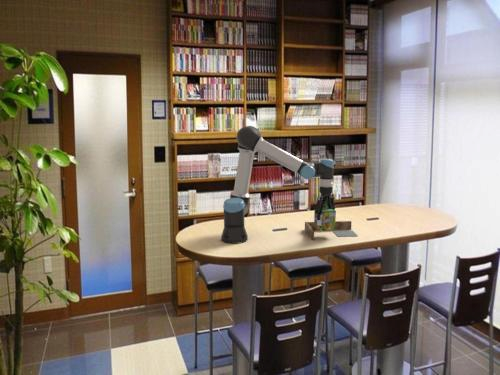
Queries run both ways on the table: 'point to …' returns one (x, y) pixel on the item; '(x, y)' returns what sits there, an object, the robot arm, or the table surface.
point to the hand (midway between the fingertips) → (324, 223)
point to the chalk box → (326, 219)
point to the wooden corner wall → (338, 226)
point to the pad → (345, 233)
